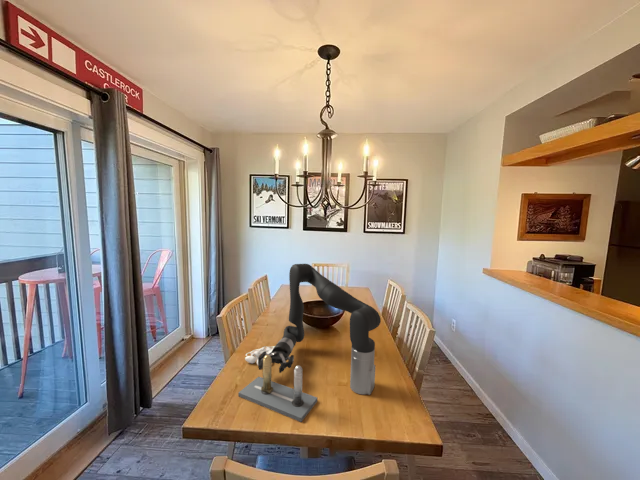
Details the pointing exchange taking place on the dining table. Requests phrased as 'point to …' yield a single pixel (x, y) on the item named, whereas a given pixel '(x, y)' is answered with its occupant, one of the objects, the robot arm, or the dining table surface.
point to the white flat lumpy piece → (257, 354)
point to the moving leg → (267, 374)
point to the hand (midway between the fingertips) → (269, 369)
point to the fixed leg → (298, 385)
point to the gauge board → (278, 399)
